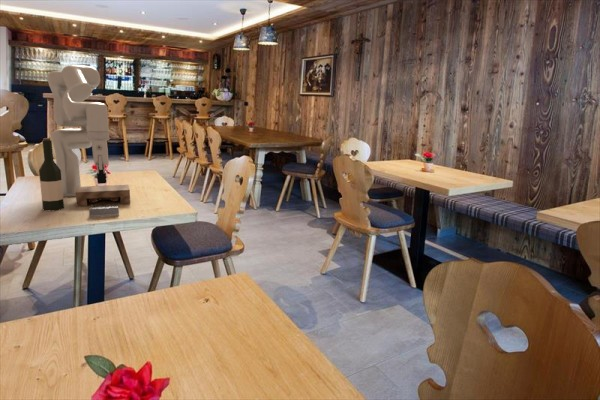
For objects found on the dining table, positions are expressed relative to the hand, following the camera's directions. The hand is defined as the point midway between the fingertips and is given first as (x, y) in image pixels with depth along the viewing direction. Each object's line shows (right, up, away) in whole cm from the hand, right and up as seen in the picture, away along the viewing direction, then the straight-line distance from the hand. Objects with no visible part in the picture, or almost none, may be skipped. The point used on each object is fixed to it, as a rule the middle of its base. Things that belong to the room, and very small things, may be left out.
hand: (102, 183), depth 172 cm
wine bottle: (-29, -10, +17) cm, 35 cm away
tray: (-6, -12, +15) cm, 20 cm away
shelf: (-13, -8, +30) cm, 34 cm away
